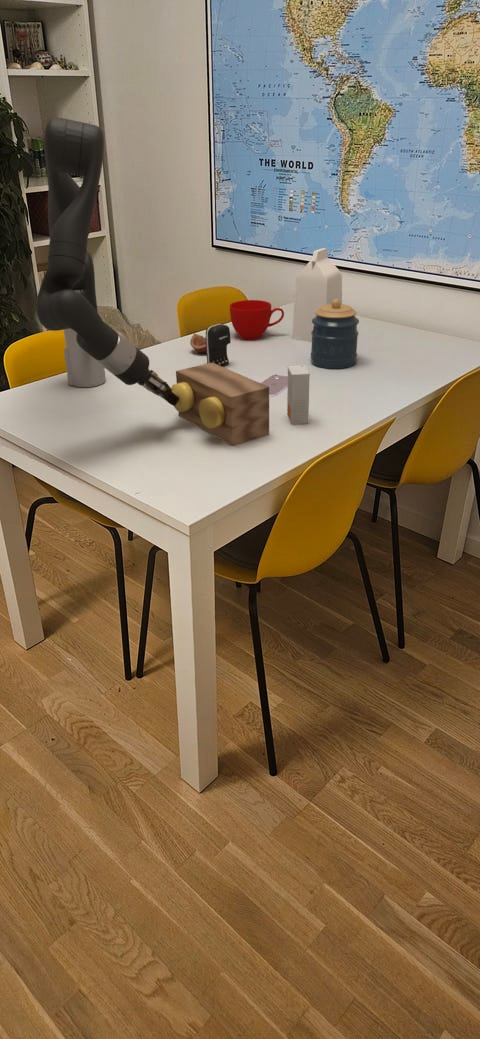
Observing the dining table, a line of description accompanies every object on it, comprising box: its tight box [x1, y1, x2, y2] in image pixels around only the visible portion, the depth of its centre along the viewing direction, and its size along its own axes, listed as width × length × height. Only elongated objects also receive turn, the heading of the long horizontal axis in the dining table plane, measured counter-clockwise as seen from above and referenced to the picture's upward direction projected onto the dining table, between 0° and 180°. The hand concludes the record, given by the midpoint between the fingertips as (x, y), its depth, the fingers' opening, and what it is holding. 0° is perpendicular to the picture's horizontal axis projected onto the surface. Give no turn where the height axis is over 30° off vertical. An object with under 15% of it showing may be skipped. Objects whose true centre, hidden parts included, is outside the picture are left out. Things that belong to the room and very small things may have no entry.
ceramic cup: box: [229, 299, 285, 341], centre depth 224 cm, size 13×17×10 cm
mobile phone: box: [260, 374, 288, 398], centre depth 186 cm, size 8×1×15 cm
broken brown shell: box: [189, 333, 207, 354], centre depth 212 cm, size 8×7×5 cm
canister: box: [310, 299, 360, 370], centre depth 198 cm, size 13×13×18 cm
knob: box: [170, 382, 195, 413], centre depth 165 cm, size 15×6×6 cm, turn 126°
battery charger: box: [205, 323, 231, 367], centre depth 198 cm, size 7×4×11 cm, turn 138°
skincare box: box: [286, 365, 310, 425], centre depth 163 cm, size 6×4×12 cm
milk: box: [291, 247, 343, 343], centre depth 219 cm, size 12×12×26 cm
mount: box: [175, 362, 270, 447], centre depth 161 cm, size 13×22×11 cm, turn 36°
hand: (175, 401), depth 161 cm, fingers closed
